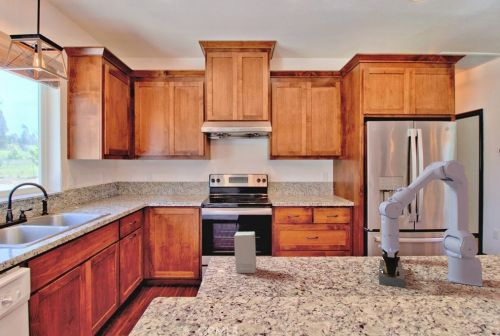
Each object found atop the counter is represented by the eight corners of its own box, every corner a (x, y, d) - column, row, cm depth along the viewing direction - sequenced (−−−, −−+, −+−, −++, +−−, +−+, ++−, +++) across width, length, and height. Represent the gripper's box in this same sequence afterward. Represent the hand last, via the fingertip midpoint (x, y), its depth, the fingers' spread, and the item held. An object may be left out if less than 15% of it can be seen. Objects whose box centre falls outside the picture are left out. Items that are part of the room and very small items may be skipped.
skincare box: (256, 268, 113) (255, 231, 114) (255, 274, 107) (254, 234, 107) (236, 267, 114) (236, 231, 115) (234, 273, 108) (234, 234, 108)
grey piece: (401, 269, 110) (401, 261, 110) (404, 288, 92) (404, 279, 92) (380, 266, 113) (379, 259, 113) (379, 284, 95) (378, 275, 96)
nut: (396, 279, 99) (396, 263, 99) (397, 284, 96) (396, 267, 96) (384, 278, 101) (384, 262, 101) (384, 282, 97) (384, 265, 97)
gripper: (378, 229, 107) (379, 264, 106) (377, 237, 94) (378, 276, 94) (398, 231, 104) (399, 266, 103) (400, 239, 91) (401, 280, 90)
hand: (391, 271), depth 98 cm, fingers open, 7 cm apart
